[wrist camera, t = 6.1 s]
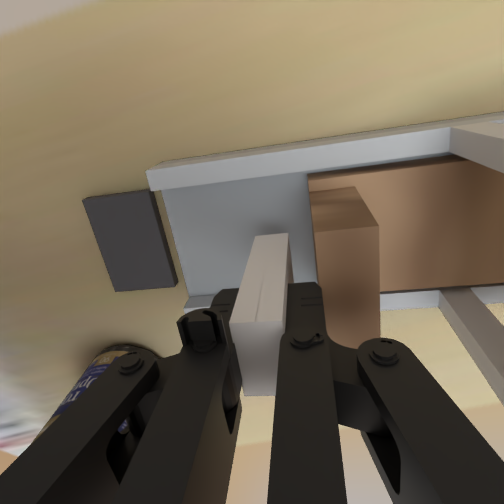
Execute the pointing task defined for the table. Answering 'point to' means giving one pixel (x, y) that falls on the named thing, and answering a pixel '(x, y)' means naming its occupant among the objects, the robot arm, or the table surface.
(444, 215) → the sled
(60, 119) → the table surface
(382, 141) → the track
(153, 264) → the dark grey flat block
